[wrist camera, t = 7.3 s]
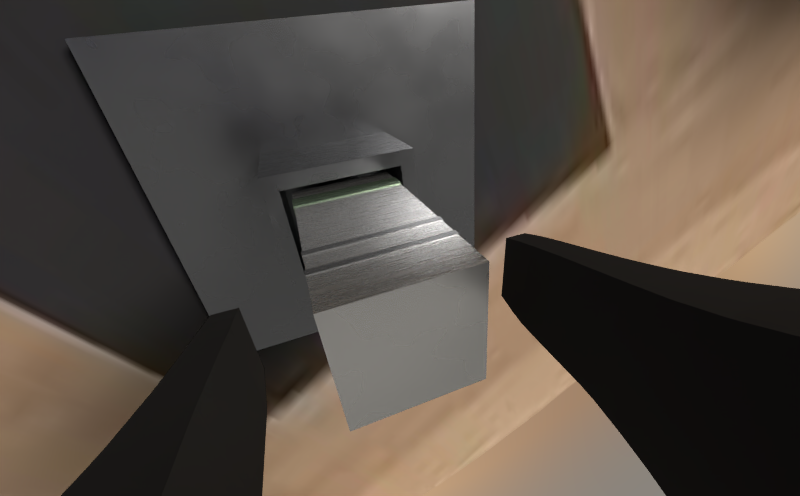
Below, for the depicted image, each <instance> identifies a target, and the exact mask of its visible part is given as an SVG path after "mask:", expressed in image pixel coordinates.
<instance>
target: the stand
mask: <svg viewBox="0 0 800 496" xmlns="http://www.w3.org/2000/svg"><path fill="white" fill-rule="evenodd" d="M65 41H66V42H67V44H68V46H69V48H70V50H71V52H72V54H73V56H74V58H75V60H76V62H77V64H78V65H79V67H80V69H81V71H82V73H83V75H84V77H85V79H86V81H87V83H88V85H89V87H90V88H91V90H92V92H93V94H94V96H95V98H96V100H97V102H98V104H99V106H100V108H101V110H102V111H103V113H104V115H105V117H106V119H107V121H108V123H109V125H110V127H111V129H112V131H113V132H114V134H115V136H116V138H117V140H118V142H119V144H120V146H121V148H122V150H123V152H124V154H125V155H126V157H127V159H128V161H129V163H130V165H131V167H132V169H133V171H134V173H135V175H136V177H137V178H138V180H139V182H140V184H141V186H142V188H143V190H144V192H145V194H146V196H147V198H148V200H149V201H150V203H151V205H152V207H153V209H154V211H155V213H156V215H157V217H158V219H159V221H160V223H161V224H162V226H163V228H164V230H165V232H166V234H167V236H168V238H169V240H170V242H171V244H172V246H173V247H174V249H175V251H176V253H177V255H178V257H179V259H180V261H181V263H182V265H183V267H184V269H185V270H186V272H187V274H188V276H189V278H190V280H191V282H192V284H193V286H194V288H195V290H196V292H197V293H198V295H199V297H200V299H201V301H202V303H203V305H204V307H205V309H206V311H207V313H208V314H209V316H210V315H213V314H216V313H220V312H224V311H228V310H232V309H236V308H239V309H240V311H241V314H242V316H243V319H244V321H245V323H246V326H247V328H248V331H249V333H250V335H251V338H252V340H253V343H254V345H255V347H256V350H257V351H258V350H261V349H264V348H267V347H270V346H274V345H277V344H280V343H283V342H286V341H290V340H293V339H296V338H299V337H302V336H306V335H309V334H312V333H315V332H318V328H317V325H316V322H315V319H314V315H313V311H312V305H311V299H310V293H309V288H308V284H307V281H306V277H305V273H304V270H305V265H304V262H303V259H302V255H301V251H302V248H301V242H300V236H299V231H298V225H297V219H296V215H295V212H294V208H293V204H292V199H293V196H292V192H295V191H299V190H304V189H309V188H313V187H318V186H323V185H327V184H332V183H337V182H342V181H346V180H351V179H356V178H360V177H365V176H370V175H374V174H379V173H384V172H388V173H389V174H390V175H391V176H392V177H395V178H397V179H398V180H399V181H400V182H401V184H402V186H404V187H405V188H406V189H407V190H408V191H409V192H410V193H412V194H413V195H414V196H415V197H416V198H417V199H418V200H420V201H421V202H422V203H423V204H424V205H425V206H426V207H428V208H429V209H430V210H431V211H432V212H433V213H434V214H436V215H437V216H438V217H439V216H440V217H441V218H442V219H443V221H444V222H445V223H446V224H447V225H448V226H449V227H450V228H452V229H453V230H456V231H457V232H459V233H460V236H461V237H462V238H463V239H464V240H465V241H466V242H468V243H469V244H470V245H471V246H472V247H473V248H474V0H469V1H459V2H448V3H438V4H427V5H416V6H406V7H395V8H385V9H374V10H364V11H353V12H343V13H332V14H321V15H311V16H300V17H290V18H279V19H269V20H258V21H248V22H237V23H226V24H216V25H205V26H195V27H184V28H174V29H163V30H153V31H142V32H131V33H121V34H110V35H100V36H89V37H79V38H68V39H65Z"/></svg>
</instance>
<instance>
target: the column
mask: <svg viewBox="0 0 800 496" xmlns="http://www.w3.org/2000/svg"><path fill="white" fill-rule="evenodd" d="M292 196H293V199H292V204H293V208H294V212H295V215H296V219H297V225H298V231H299V236H300V242H301V248H302V251H301V255H302V259H303V262H304V265H305V270H304V273H305V277H306V281H307V284H308V288H309V293H310V299H311V305H312V311H313V315H314V319H315V322H316V325H317V328H318V331H319V334H320V338H321V341H322V344H323V347H324V350H325V353H326V356H327V360H328V363H329V366H330V369H331V372H332V375H333V379H334V382H335V385H336V388H337V391H338V394H339V398H340V401H341V404H342V407H343V410H344V413H345V417H346V420H347V423H348V426H349V429H350V431H353V430H355V429H358V428H360V427H363V426H366V425H368V424H371V423H373V422H376V421H378V420H381V419H384V418H386V417H389V416H391V415H394V414H396V413H399V412H401V411H404V410H407V409H409V408H412V407H414V406H417V405H419V404H422V403H425V402H427V401H430V400H432V399H435V398H437V397H440V396H443V395H445V394H448V393H450V392H453V391H455V390H458V389H460V388H463V387H466V386H468V385H471V384H473V383H476V382H478V381H481V380H484V379H486V362H487V325H488V289H489V261H488V260H487V259H486V258H485V257H484V256H482V255H481V254H480V253H479V252H478V251H477V250H476V249H474V248H473V247H472V246H471V245H470V244H469V243H468V242H466V241H465V240H464V239H463V238H462V237H461V236H460V233H459V232H457V231H456V230H453V229H452V228H450V227H449V226H448V225H447V224H446V223H445V222H444V221H443V219H442V218H441V217H440V216H439V217H438V216H437V215H436V214H434V213H433V212H432V211H431V210H430V209H429V208H428V207H426V206H425V205H424V204H423V203H422V202H421V201H420V200H418V199H417V198H416V197H415V196H414V195H413V194H412V193H410V192H409V191H408V190H407V189H406V188H405V187H404V186H402V184H401V182H400V181H399V180H398V179H397V178H395V177H392V176H391V175H390V174H389V173H388V172H384V173H379V174H374V175H370V176H365V177H360V178H356V179H351V180H346V181H342V182H337V183H332V184H327V185H323V186H318V187H313V188H309V189H304V190H299V191H295V192H292Z"/></svg>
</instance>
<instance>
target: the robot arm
mask: <svg viewBox="0 0 800 496" xmlns="http://www.w3.org/2000/svg"><path fill="white" fill-rule="evenodd" d="M502 297H503V298H504V300H505V301H506V303H507V304H508V305H509V307H510V308H511V310H512V311H513V312H514V314H515V315H516V316H517V318H518V319H519V320H520V322H521V323H522V324H523V325H524V326H525V327H526V328H527V330H528V331H529V332H530V333H531V334H532V335H533V336H534V337H535V338H536V339H537V340H538V341H539V342H540V343H541V344H542V345H543V346H544V347H545V348H546V350H547V351H548V352H549V353H550V354H551V355H552V356H553V357H554V358H555V359H556V360H557V361H558V362H559V363H560V364H561V365H562V366H563V367H564V368H565V369H566V370H567V371H568V372H569V373H570V374H571V375H572V376H573V377H574V379H575V380H576V381H577V382H578V383H579V384H580V385H581V386H582V387H583V388H584V389H585V390H586V391H587V393H588V394H589V395H590V396H591V397H592V398H593V399H594V401H595V402H596V403H597V404H598V406H599V407H600V408H601V409H602V411H603V412H604V413H605V414H606V416H607V417H608V418H609V419H610V421H611V422H612V423H613V424H614V426H615V427H616V428H617V429H618V431H619V432H620V433H621V435H622V436H623V437H624V439H625V440H626V441H627V443H628V444H629V445H630V447H631V448H632V449H633V451H634V452H635V453H636V455H637V456H638V457H639V458H640V460H641V461H642V463H643V464H644V465H645V467H646V468H647V469H648V471H649V472H650V473H651V475H652V476H653V478H654V479H655V480H656V482H657V483H658V485H659V486H660V487H661V489H662V490H663V492H664V493H665V495H666V496H800V289H796V288H787V287H779V286H772V285H764V284H755V283H748V282H740V281H734V280H728V279H721V278H716V277H710V276H705V275H699V274H693V273H688V272H682V271H677V270H673V269H668V268H663V267H659V266H654V265H650V264H646V263H642V262H637V261H633V260H629V259H625V258H621V257H617V256H613V255H609V254H606V253H602V252H598V251H594V250H591V249H587V248H583V247H580V246H576V245H572V244H569V243H565V242H561V241H558V240H554V239H550V238H546V237H541V236H537V235H531V234H525V233H524V234H520V235H517V236H513V237H509V238H506V248H505V261H504V273H503V285H502ZM266 418H267V401H266V385H265V372H264V367H263V364H262V362H261V359H260V357H259V355H258V352H257V350H256V347H255V345H254V343H253V340H252V338H251V335H250V333H249V331H248V328H247V326H246V323H245V321H244V319H243V316H242V314H241V311H240V309H239V308H236V309H232V310H228V311H224V312H220V313H216V314H213V315H210V317H209V318H208V319H207V320H206V322H205V323H204V324H203V326H202V327H201V328H200V330H199V331H198V332H197V334H196V335H195V336H194V338H193V339H192V340H191V342H190V343H189V344H188V346H187V347H186V348H185V350H184V351H183V352H182V354H181V355H180V356H179V358H178V359H177V360H176V362H175V363H174V364H173V366H172V367H171V368H170V369H169V371H168V372H167V373H166V375H165V376H164V377H163V379H162V380H161V381H160V382H159V384H158V385H157V386H156V388H155V389H154V390H153V391H152V393H151V394H150V395H149V396H148V397H147V399H146V400H145V401H144V402H143V403H142V405H141V406H140V407H139V408H138V409H137V411H136V412H135V413H134V414H133V415H132V416H131V418H130V419H129V420H128V421H127V422H126V424H125V425H124V426H123V427H122V428H121V430H120V431H119V432H118V433H117V434H116V436H115V437H114V438H113V439H112V440H111V442H110V443H109V444H108V445H107V446H106V447H105V448H104V450H103V451H102V452H101V453H100V454H99V455H98V456H97V457H96V459H95V460H94V461H93V462H92V463H91V464H90V465H89V466H88V467H87V468H86V469H85V471H84V472H83V473H82V474H81V475H80V476H79V477H78V478H77V479H76V480H75V481H74V482H73V483H72V485H71V486H70V487H69V488H68V489H67V490H66V491H65V492H64V493H63V494H62V495H61V496H262V487H263V470H264V454H265V436H266Z"/></svg>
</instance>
